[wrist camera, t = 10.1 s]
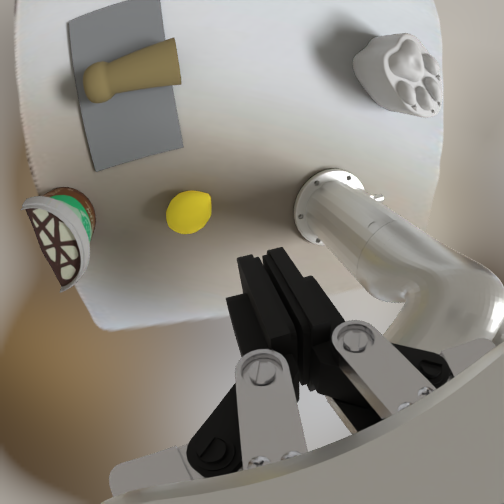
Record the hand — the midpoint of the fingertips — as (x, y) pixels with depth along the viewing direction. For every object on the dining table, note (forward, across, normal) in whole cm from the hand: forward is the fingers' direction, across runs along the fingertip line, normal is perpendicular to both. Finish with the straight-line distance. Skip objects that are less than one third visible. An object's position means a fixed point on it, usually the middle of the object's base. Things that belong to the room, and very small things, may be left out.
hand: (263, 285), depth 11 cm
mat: (+29, +8, -12) cm, 32 cm away
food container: (+29, +18, +4) cm, 35 cm away
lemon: (+29, +3, +7) cm, 30 cm away
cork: (+26, +1, -12) cm, 29 cm away
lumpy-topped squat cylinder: (+29, -30, -8) cm, 43 cm away
